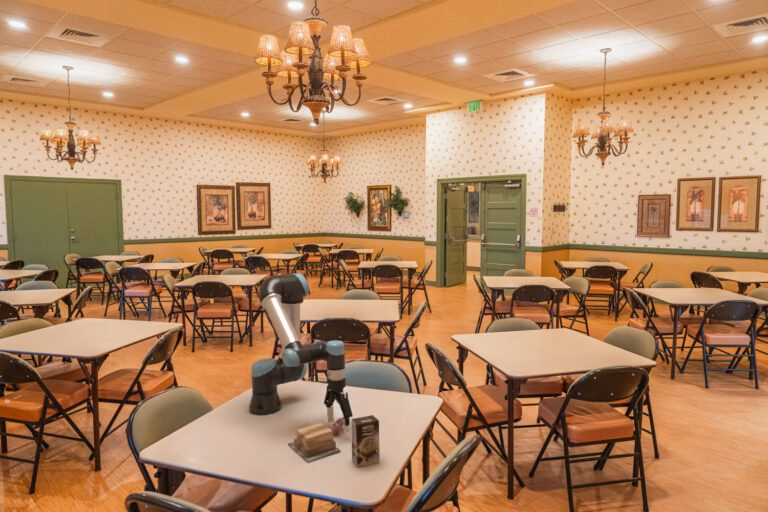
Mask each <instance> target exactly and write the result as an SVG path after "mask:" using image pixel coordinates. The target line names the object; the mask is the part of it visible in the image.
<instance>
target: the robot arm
mask: <svg viewBox="0 0 768 512" xmlns="http://www.w3.org/2000/svg"><path fill="white" fill-rule="evenodd" d="M308 283H309V282H308V281H307V279H306V277H305V276H304V275H303V274H302V273H293V272H291V273H285V274H278V275H277V274H276V275H275V274H274V275H270V276H268V277H266V278H265V279H264V280H263V281H262V282H261V285H260V287H259V289H258V300H259V303H260V305H261V307H262V308H263V309H265V310H266V312H267V314H268V317H269V319H270V321H271V324H272V326H273V328H274V331H275V332H276V335H277V336H278V339H279V341H280V343H281V352H280V353H279V354H278V359H277V360H276V359H275V358H272V357H268V358H267V357H266V358H263V359H262V358H261V359H259V360H256V361H255V362H254V363H253V364H252V365H251V370H250V371H251V372H250V375H251V390H252V391H251V392H252V395H251V398H250V402H249V406H248V408H249V409H248V411H249V412H250V413H251V414H253V415H258V416H261V415H262V416H264V415H271V414H275V413H276V412H279V411H280V410H282V401H281V398H280V395H279V393H278V386H279V385H284V384H288V383H292V382H297V381H299V380H302V379H303V378H304V377H306V375H307V371H308V364H311V363H315V362H316V363H317V362H320V361H323V362H326V366H327V367H326V368H327V370H326V371H327V372H326V375H327V378H328V379H327V386H326V393H325V396H324V401H323V405H325V407H326V413H327V416H326V417H327V424H329V423H333V422H334V423H335V421H334V420H335V419H334V418H335V417H334V403H335V401H336V403H337V404H338V405H339V408H340V410H341V414H342V418H343V426H342V432H343V434H347V433H350V432H351V426H350V424H351V423H350V422H351V420H350V418H351V417H353V415H354V414H353V412H352V408H351V404H350V400H349V394H348V392H344V389H345V388H346V385H347V384H346V383H347V382H346V356H345V353H346V352H345V351H346V350H345V343H344V342H343V341H342V340H329V341H327V342H326V341H323V340H316V341H314V342H313V343H312V344H307V345H303V344H302V343H301V342H302V341H301V340H300V339H301V338H300V337H301V335H300V333H301V305H302V304H303V303H304V298H305V297H307V296H308V295H309V290H310V289H309V284H308Z"/></svg>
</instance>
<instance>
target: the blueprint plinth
mask: <svg viewBox="0 0 768 512" xmlns="http://www.w3.org/2000/svg"><path fill="white" fill-rule="evenodd" d="M331 429H332V428H329V427H327V425H325V424H324V423H323V422H318V423H315V424H312V425H309V426H308V425H307V426H304V427H302V428H301V427H300V428H297V429H296V430H295V432H296V433H295V434H296V435H295V437H296V438H294V440H293V441H292V442H289V443H287V445H288V447H289V446H290V449H292V450H293V452H295V453H296V454H297V455H298V456H299V457H300V458H302V459H303V460H304V461H305V462H306V463H307V464H309V463H313V462H315V461H318V460H322V459H325V458H327V457H330V456H333V455H336V454H338V453H341V449H340V448H339V447H337V446H336V443H337V442H336V441H335V440H334V436H333V431H332V430H331Z"/></svg>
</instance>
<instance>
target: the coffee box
mask: <svg viewBox="0 0 768 512" xmlns="http://www.w3.org/2000/svg"><path fill="white" fill-rule="evenodd" d="M350 422H351V423H350V424H351V426H350V431H351V460H352V462H353V463H354V465H355V466H356V468H360V467H361V468H362V467H365V466H368V465H374V464H379V463H380V454H381V452H380V420H379V419H378V418H377V417H375V416H374V414H373V415H372V414H371V415H366V416H360V417H355V418H351V420H350Z"/></svg>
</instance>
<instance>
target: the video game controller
mask: <svg viewBox="0 0 768 512" xmlns="http://www.w3.org/2000/svg"><path fill="white" fill-rule="evenodd" d="M330 429H331V430H332V431H333V437H334V436H335V435H338V434H339V432H341V431H342V430H343V417H339V418H337V420H336V421H334V423H333V425H332V428H330Z"/></svg>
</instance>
